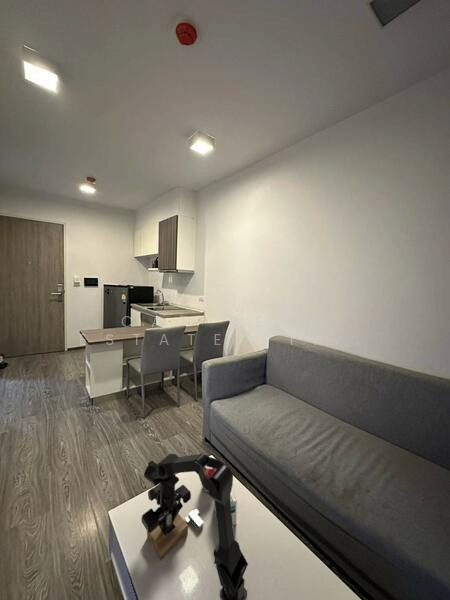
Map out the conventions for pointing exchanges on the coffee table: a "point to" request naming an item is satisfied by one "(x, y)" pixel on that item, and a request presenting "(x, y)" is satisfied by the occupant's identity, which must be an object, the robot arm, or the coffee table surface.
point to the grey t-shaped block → (195, 519)
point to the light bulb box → (232, 507)
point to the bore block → (168, 537)
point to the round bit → (168, 522)
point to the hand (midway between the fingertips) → (167, 525)
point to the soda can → (208, 473)
